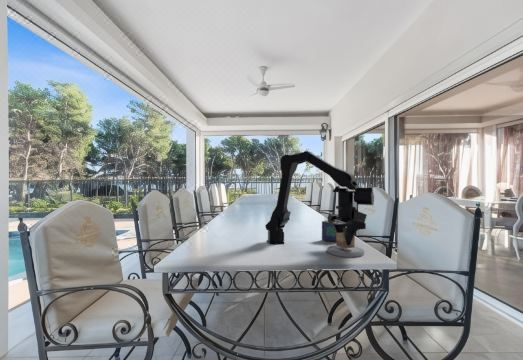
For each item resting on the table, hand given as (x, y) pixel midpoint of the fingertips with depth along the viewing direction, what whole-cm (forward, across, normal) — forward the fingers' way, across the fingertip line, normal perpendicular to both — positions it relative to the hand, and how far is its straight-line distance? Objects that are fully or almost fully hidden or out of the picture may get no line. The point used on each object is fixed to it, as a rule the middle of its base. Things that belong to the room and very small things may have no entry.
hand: (345, 243), depth 112 cm
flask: (+4, +18, -4) cm, 19 cm away
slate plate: (+4, 0, 0) cm, 4 cm away
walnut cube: (+1, 0, 0) cm, 1 cm away
